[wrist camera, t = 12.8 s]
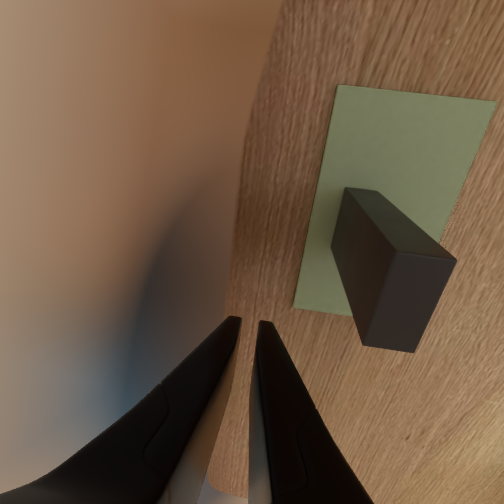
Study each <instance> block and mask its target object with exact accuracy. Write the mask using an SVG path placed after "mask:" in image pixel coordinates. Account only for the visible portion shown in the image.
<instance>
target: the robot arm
mask: <svg viewBox="0 0 504 504" xmlns="http://www.w3.org/2000/svg"><path fill="white" fill-rule="evenodd" d="M241 327H242V318H241V317H237V316H229V317H228V318H227V319H226V320H224V321H223V322H222V323H221V324H220V325H219V326H218V327H217V328H216V329H215V330H214V331H213V332H212V333H211V334H210V335H209V336H208V337H207V338H206V339H205V340H204V341H203V342H202V343H201V344H200V345H199V346H198V347H196V349H194V351H192V352H191V353H190V354H189V355H188V356H187V357H186V358H185V359H184V360H183V361H182V362H181V363H180V364H179V365H178V366H177V367H176V368H175V369H174V370H173V371H172V372H171V373H170V374H169V375H167V376H166V377H165V378H164V379H163V380H162V381H161V384H158V385H157V386H156V387H155V388H154V389H153V390H152V391H151V392H150V393H149V394H147V395H146V396H145V397H144V398H143V399H142V400H141V401H140V402H139V403H138V404H137V405H136V406H134V407H133V408H132V409H131V410H129V411H128V412H127V413H126V414H125V415H123V416H122V417H121V418H120V419H119V420H117V421H116V422H115V423H114V424H112V425H111V426H110V427H108V428H107V429H106V430H105V431H103V432H102V433H101V434H100V435H98V436H97V437H96V438H94V439H93V440H92V441H91V442H89V443H88V444H87V445H85V446H84V447H83V448H82V449H80V450H79V451H78V452H77V453H76V454H74V455H73V456H71V457H70V458H69V459H68V460H66V461H65V462H64V463H62V464H61V465H60V466H58V467H57V468H56V469H54V470H52V471H51V472H49V473H48V474H46V475H44V476H42V477H41V478H39V479H37V480H35V481H33V482H31V483H29V484H27V485H24V486H21V487H19V488H16V489H13V490H11V491H8V492H5V493H2V494H0V504H197V501H198V498H199V495H200V491H201V488H202V485H203V482H204V478H205V475H206V472H207V468H208V465H209V462H210V459H211V455H212V452H213V449H214V445H215V442H216V439H217V435H218V432H219V429H220V426H221V422H222V419H223V416H224V412H225V409H226V406H227V402H228V399H229V396H230V392H231V388H232V383H233V378H234V372H235V366H236V361H237V355H238V349H239V343H240V336H241ZM315 408H316V407H315V404H314V403H313V401H312V399H311V397H310V395H309V393H308V391H307V389H306V387H305V385H304V383H303V381H302V379H301V377H300V375H299V373H298V371H297V369H296V367H295V365H294V363H293V361H292V359H291V357H290V356H289V354H288V352H287V350H286V348H285V346H284V344H283V342H282V340H281V338H280V336H279V334H278V332H277V330H276V328H275V326H274V324H273V323H272V322H270V321H264V320H260V321H259V326H258V333H257V340H256V347H255V354H254V362H253V369H252V377H251V385H250V398H249V490H248V504H374V503H373V501H372V500H371V498H370V497H369V495H368V493H367V492H366V490H365V489H364V487H363V486H362V484H361V483H360V481H359V480H358V478H357V477H356V475H355V473H354V472H353V470H352V469H351V467H350V466H349V464H348V463H347V461H346V460H345V458H344V456H343V455H342V453H341V452H340V450H339V448H338V447H337V445H336V443H335V442H334V440H333V438H332V437H331V435H330V433H329V431H328V429H327V427H326V426H325V424H324V422H323V420H322V418H321V416H320V414H319V412H318V410H317V409H315Z"/></svg>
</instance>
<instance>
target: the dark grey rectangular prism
mask: <svg viewBox="0 0 504 504" xmlns="http://www.w3.org/2000/svg"><path fill="white" fill-rule="evenodd" d="M330 248H331V251H332V254H333V257H334V260H335V263H336V266H337V269H338V272H339V275H340V278H341V281H342V284H343V287H344V290H345V293H346V296H347V299H348V302H349V306H350V309H351V312H352V315H353V318H354V321H355V324H356V327H357V330H358V333H359V336H360V339H361V342H362V345H364V346H369V347H376V348H383V349H389V350H396V351H403V352H409V353H414V352H415V350H416V348H417V346H418V344H419V342H420V340H421V337H422V335H423V333H424V331H425V329H426V327H427V325H428V322H429V320H430V318H431V316H432V314H433V312H434V310H435V307H436V305H437V303H438V301H439V299H440V297H441V295H442V292H443V290H444V288H445V286H446V284H447V282H448V280H449V277H450V275H451V273H452V271H453V269H454V267H455V265H456V262H457V259H456V258H455V257H454V256H452V255H451V254H450V253H449V252H448V251H447V250H445V249H444V248H443V247H442V246H441V245H440V244H439V243H437V242H436V241H435V240H434V239H433V238H432V237H430V236H429V235H428V234H427V233H426V232H425V231H423V230H422V229H421V228H420V227H419V226H418V225H417V224H415V223H414V222H413V221H412V220H411V219H410V218H408V217H407V216H406V215H405V214H404V213H403V212H402V211H400V210H399V209H398V208H397V207H396V206H395V205H393V204H392V203H391V202H390V201H389V200H388V199H387V198H385V197H384V196H383V195H382V194H381V193H380V192H378V191H375V190H367V189H359V188H351V187H345V189H344V193H343V197H342V201H341V205H340V209H339V214H338V218H337V222H336V226H335V230H334V234H333V238H332V242H331V246H330Z"/></svg>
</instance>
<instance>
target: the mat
mask: <svg viewBox="0 0 504 504" xmlns="http://www.w3.org/2000/svg"><path fill="white" fill-rule="evenodd" d="M497 103H498V102H496V101H487V100H478V99H469V98H459V97H450V96H441V95H432V94H423V93H414V92H404V91H395V90H386V89H377V88H368V87H359V86H349V85H340V84H338V85H337V88H336V93H335V98H334V103H333V108H332V113H331V118H330V123H329V128H328V133H327V138H326V143H325V148H324V153H323V158H322V163H321V168H320V173H319V178H318V183H317V188H316V192H315V197H314V202H313V207H312V212H311V217H310V222H309V227H308V232H307V237H306V242H305V247H304V252H303V257H302V262H301V267H300V272H299V277H298V282H297V287H296V292H295V297H294V302H293V308H299V309H306V310H313V311H319V312H326V313H333V314H340V315H347V316H353V315H352V312H351V309H350V306H349V302H348V299H347V296H346V293H345V290H344V287H343V284H342V281H341V278H340V275H339V272H338V269H337V266H336V263H335V260H334V257H333V254H332V251H331V248H330V246H331V242H332V238H333V234H334V230H335V226H336V222H337V218H338V214H339V209H340V205H341V201H342V197H343V193H344V189H345V187H351V188H359V189H367V190H375V191H378V192H380V193H381V194H382V195H383V196H384V197H385V198H387V199H388V200H389V201H390V202H391V203H392V204H393V205H395V206H396V207H397V208H398V209H399V210H400V211H402V212H403V213H404V214H405V215H406V216H407V217H408V218H410V219H411V220H412V221H413V222H414V223H415V224H417V225H418V226H419V227H420V228H421V229H422V230H423V231H425V232H426V233H427V234H428V235H429V236H430V237H432V238H433V239H434V240H435V241H436V242H437V243H439V240H440V238H441V236H442V233H443V231H444V229H445V226H446V224H447V221H448V219H449V217H450V214H451V212H452V210H453V207H454V205H455V203H456V200H457V198H458V195H459V193H460V191H461V188H462V186H463V184H464V181H465V179H466V176H467V174H468V172H469V169H470V167H471V165H472V162H473V160H474V158H475V155H476V153H477V150H478V148H479V146H480V143H481V141H482V139H483V136H484V134H485V132H486V129H487V127H488V124H489V122H490V120H491V117H492V115H493V113H494V110H495V108H496V105H497Z"/></svg>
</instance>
